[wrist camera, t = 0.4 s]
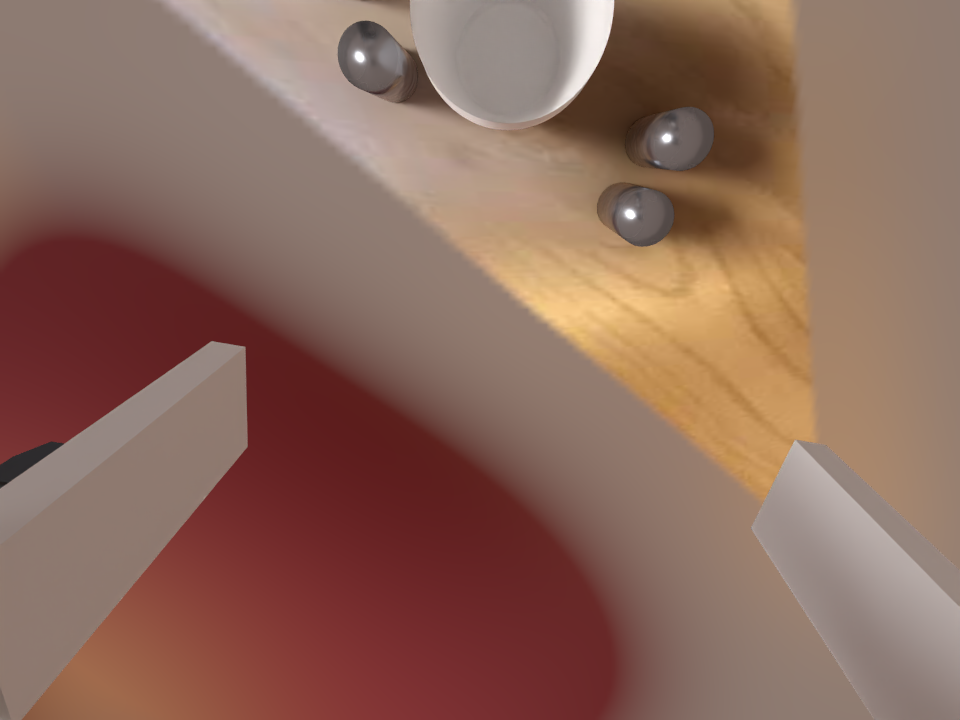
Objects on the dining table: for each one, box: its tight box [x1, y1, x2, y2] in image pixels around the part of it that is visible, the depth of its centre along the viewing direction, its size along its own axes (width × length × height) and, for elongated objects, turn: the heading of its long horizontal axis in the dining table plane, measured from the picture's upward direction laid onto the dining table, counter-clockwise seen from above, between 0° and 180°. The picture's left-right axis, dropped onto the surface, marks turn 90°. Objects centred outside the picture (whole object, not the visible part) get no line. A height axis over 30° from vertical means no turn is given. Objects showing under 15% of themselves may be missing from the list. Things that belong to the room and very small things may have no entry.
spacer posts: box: [338, 21, 714, 247], centre depth 30 cm, size 19×21×7 cm
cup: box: [410, 0, 614, 130], centre depth 27 cm, size 9×9×12 cm
